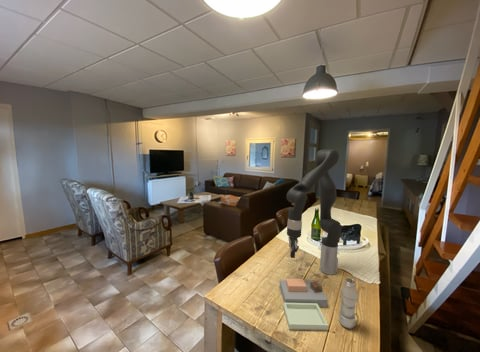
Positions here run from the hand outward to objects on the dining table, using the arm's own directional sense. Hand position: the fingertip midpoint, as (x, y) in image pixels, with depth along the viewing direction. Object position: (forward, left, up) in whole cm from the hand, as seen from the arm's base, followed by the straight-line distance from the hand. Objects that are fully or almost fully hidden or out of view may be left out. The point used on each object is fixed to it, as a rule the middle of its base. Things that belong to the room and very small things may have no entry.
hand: (292, 257), depth 109 cm
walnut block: (-10, +9, -12) cm, 18 cm away
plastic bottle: (-18, +26, -16) cm, 35 cm away
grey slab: (-3, +9, -16) cm, 19 cm away
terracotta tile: (0, +8, -12) cm, 15 cm away
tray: (0, +23, -16) cm, 28 cm away
